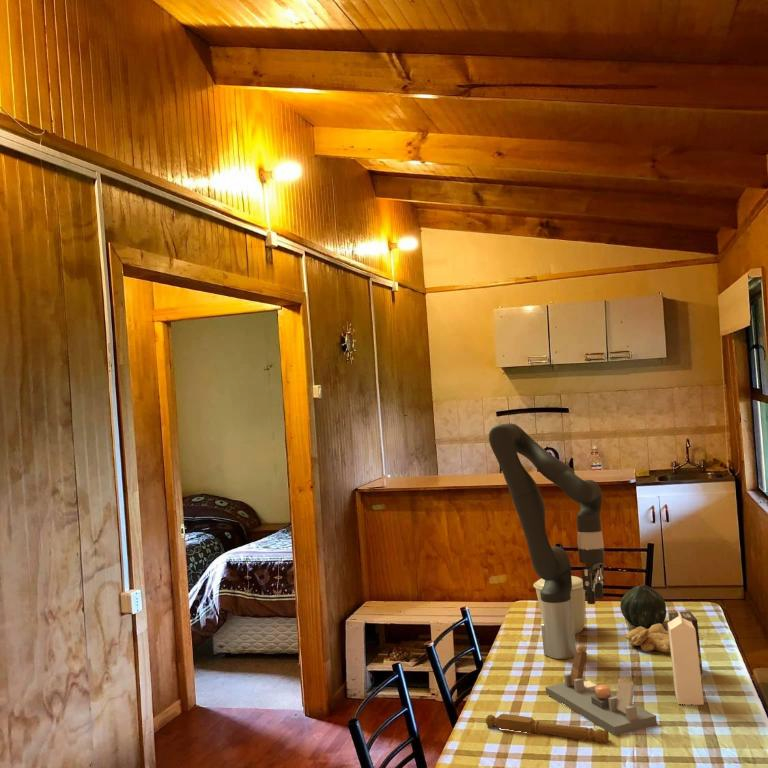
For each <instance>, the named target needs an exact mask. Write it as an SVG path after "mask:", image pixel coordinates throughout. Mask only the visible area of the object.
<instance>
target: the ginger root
mask: <svg viewBox="0 0 768 768" xmlns="http://www.w3.org/2000/svg"><path fill="white" fill-rule="evenodd" d="M624 638H626V639H627V640H628V641H630V642H629V644H630V645H631V646H634V647H640V648H641V650H642V651H643V652H645V651H646V652H648V651H649V652H653V651H658V652H660V653H671V650H670V641H669V632H668V630H666V629H665V627H664V625H663V623H662V624H660V623H659V624H655V625H652V626H651V627H648V628H644V627H641V626H637V627H635V628H633V629H632V630H630V631H629V632H628V633H625V634H624Z"/></svg>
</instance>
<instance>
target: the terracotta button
mask: <svg viewBox="0 0 768 768" xmlns="http://www.w3.org/2000/svg"><path fill="white" fill-rule="evenodd" d="M596 685H597V684H596ZM595 690H596V696H597V697H599V698H609V697H610V696H611V693H612V692H611V686H610V685H607V684H598V685H597V686H596V687H595Z"/></svg>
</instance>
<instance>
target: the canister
mask: <svg viewBox="0 0 768 768" xmlns="http://www.w3.org/2000/svg"><path fill="white" fill-rule="evenodd" d="M571 577H572V589H571V605H572V614H573V624H574V633H575V635H576V634H579V633H580V632H582V631H583V629H584V627H585V623H586V621H585V620H586V618H585V617H586V591H585V590H583V579H582V578H581V577H579V576H576V575H575V576H574V575H571ZM544 583H545V580H544V579H542V578H540V579H538V580H537V581H535V582H534V583H533V587H534V589H535V591H536V596H537V601H538V602H537V603H538V606H539V610H540V615H541V619H542V621H543V613H542V604H541V590H542V588H543V586H544Z"/></svg>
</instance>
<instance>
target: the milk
mask: <svg viewBox="0 0 768 768" xmlns="http://www.w3.org/2000/svg"><path fill="white" fill-rule="evenodd" d="M677 612H678V617H676V618H675V619H673V620H672V621H670V622H669V621H668V622H667V631H668V632H669V641H670V650H671V651H670V659H671V666H672V667H671V668H672V676H673V677H672V678H673V685H674V694H675V695H674V696H675V697H676V701H677V704H678V705H679V704H681V705H682V704H683V706H684V704H685V706H687V705H688V706H690V705H691V704H692V705H691V706H696V705H697V706H703V705H704V695H703V685H702V679H701V675H700V666H699V657H698V649H697V640H696V631H695V628H694V626H693V624H692V623H691V622H690V621H688V620H686V619H684V618H682V616H681V614H680V613H679V612H680V611H679V610H677ZM681 705H680V706H681Z"/></svg>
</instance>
